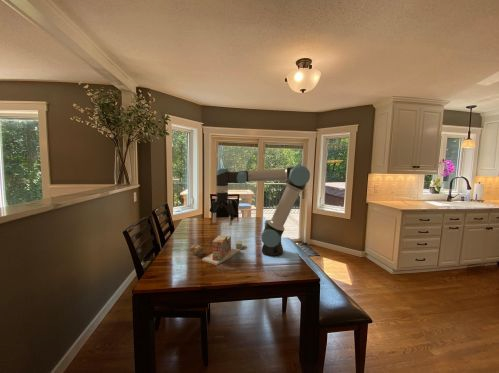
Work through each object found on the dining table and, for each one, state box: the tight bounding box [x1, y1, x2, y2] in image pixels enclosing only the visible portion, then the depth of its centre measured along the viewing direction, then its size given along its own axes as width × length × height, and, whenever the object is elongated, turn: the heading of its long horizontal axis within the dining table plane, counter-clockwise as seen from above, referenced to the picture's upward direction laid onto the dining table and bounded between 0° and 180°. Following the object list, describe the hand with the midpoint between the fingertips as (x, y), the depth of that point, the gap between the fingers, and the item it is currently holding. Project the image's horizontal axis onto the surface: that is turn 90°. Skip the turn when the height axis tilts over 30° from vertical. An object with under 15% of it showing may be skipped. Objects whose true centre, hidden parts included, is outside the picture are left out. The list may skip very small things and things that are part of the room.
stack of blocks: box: [211, 234, 232, 261], centre depth 154 cm, size 21×6×12 cm, turn 169°
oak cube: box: [189, 244, 201, 256], centre depth 157 cm, size 5×5×5 cm
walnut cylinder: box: [198, 245, 206, 259], centre depth 152 cm, size 4×4×6 cm
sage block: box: [235, 240, 243, 250], centre depth 170 cm, size 4×7×4 cm, turn 179°
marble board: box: [201, 247, 241, 266], centre depth 154 cm, size 12×26×1 cm, turn 149°
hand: (222, 223), depth 152 cm, fingers open, 13 cm apart
